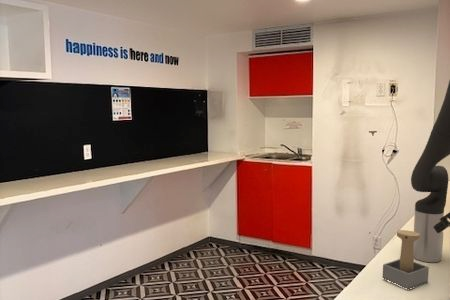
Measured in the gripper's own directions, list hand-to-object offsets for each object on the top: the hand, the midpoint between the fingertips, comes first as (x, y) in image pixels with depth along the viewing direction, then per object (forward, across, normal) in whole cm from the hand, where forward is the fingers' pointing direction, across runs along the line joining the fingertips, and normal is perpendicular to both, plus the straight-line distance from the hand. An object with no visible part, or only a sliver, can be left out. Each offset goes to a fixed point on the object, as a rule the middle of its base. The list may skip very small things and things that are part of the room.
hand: (444, 227), depth 120 cm
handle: (+22, 0, +6) cm, 23 cm away
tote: (+22, 0, +6) cm, 23 cm away
